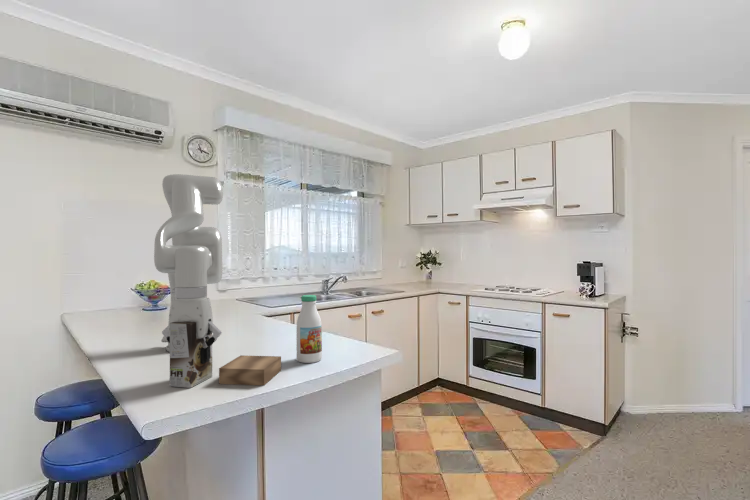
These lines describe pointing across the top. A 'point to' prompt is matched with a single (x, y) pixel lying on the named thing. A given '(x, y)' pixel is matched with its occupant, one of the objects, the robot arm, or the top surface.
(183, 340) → the cookie box
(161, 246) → the robot arm
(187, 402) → the top surface
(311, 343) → the milk bottle
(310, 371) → the top surface
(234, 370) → the plinth
